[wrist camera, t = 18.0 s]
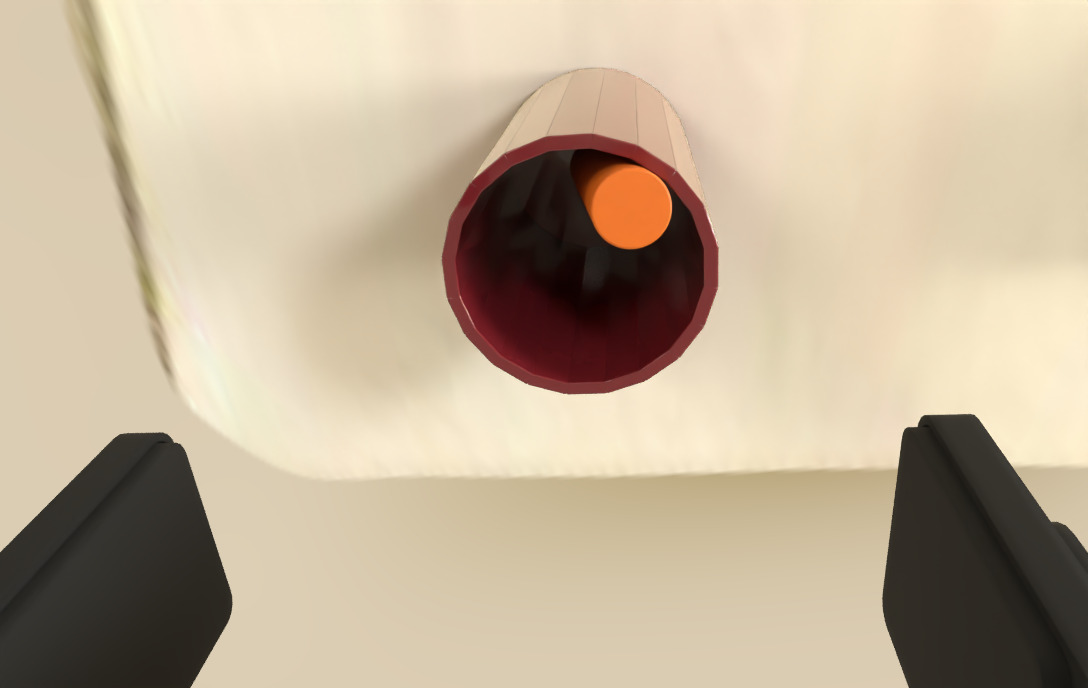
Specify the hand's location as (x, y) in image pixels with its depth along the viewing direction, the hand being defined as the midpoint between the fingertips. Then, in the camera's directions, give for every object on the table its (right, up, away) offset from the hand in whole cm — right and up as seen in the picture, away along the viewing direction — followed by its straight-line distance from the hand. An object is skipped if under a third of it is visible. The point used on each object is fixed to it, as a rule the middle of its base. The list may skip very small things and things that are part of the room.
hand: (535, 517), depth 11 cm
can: (+2, +9, +20) cm, 22 cm away
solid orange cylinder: (+2, +9, +19) cm, 21 cm away
